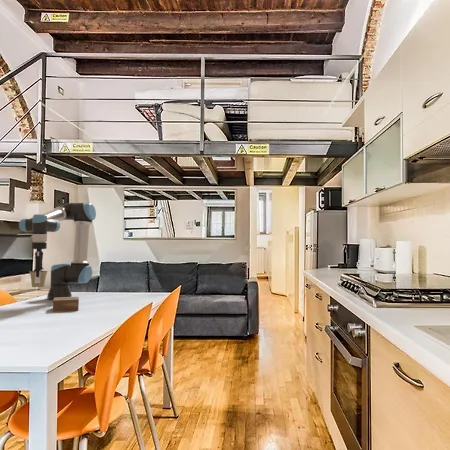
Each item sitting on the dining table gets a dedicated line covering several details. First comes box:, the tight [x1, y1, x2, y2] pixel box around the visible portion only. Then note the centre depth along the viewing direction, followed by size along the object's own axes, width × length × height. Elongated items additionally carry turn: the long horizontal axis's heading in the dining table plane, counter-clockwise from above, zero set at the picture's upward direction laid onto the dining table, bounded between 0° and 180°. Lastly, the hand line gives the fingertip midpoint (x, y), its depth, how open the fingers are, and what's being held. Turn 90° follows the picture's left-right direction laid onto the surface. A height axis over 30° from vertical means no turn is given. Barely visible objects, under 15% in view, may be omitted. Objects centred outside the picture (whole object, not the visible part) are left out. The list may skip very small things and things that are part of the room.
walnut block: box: [52, 296, 80, 313], centre depth 224 cm, size 13×13×6 cm
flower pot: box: [28, 270, 49, 288], centre depth 223 cm, size 9×9×9 cm
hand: (38, 282), depth 223 cm, fingers closed on flower pot, 9 cm apart
